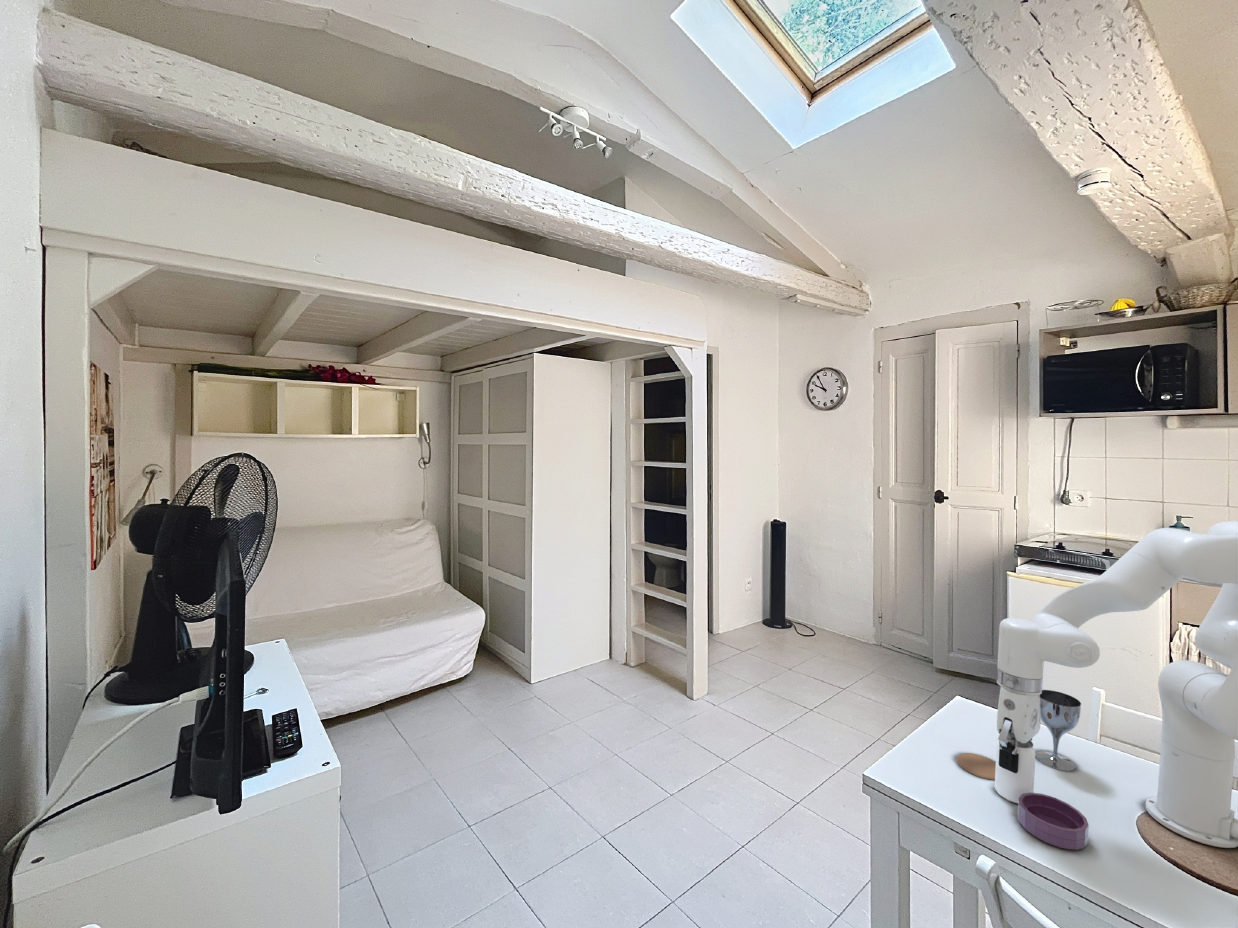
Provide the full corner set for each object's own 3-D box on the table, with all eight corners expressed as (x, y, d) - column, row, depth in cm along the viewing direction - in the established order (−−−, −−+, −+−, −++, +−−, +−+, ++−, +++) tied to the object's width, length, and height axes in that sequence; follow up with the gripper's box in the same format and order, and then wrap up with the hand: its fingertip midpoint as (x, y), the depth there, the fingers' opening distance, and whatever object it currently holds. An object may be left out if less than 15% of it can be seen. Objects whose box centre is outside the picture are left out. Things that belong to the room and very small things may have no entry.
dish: (1094, 835, 99) (1095, 815, 99) (1077, 860, 93) (1078, 839, 93) (1028, 804, 107) (1029, 785, 107) (1009, 825, 101) (1010, 805, 101)
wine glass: (1073, 757, 123) (1077, 695, 122) (1080, 775, 116) (1084, 710, 116) (1031, 746, 127) (1034, 686, 127) (1035, 763, 121) (1038, 700, 120)
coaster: (1011, 769, 118) (1011, 768, 118) (995, 784, 113) (995, 783, 113) (966, 750, 126) (966, 748, 126) (949, 763, 121) (949, 761, 121)
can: (1039, 807, 106) (1043, 750, 106) (1004, 803, 108) (1006, 746, 107) (1022, 786, 113) (1025, 732, 112) (988, 782, 114) (991, 729, 113)
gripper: (1025, 699, 101) (1020, 788, 102) (1056, 675, 111) (1051, 757, 112) (981, 683, 107) (977, 768, 108) (1013, 663, 117) (1009, 740, 118)
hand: (1015, 762), depth 110 cm, fingers closed on can, 6 cm apart
